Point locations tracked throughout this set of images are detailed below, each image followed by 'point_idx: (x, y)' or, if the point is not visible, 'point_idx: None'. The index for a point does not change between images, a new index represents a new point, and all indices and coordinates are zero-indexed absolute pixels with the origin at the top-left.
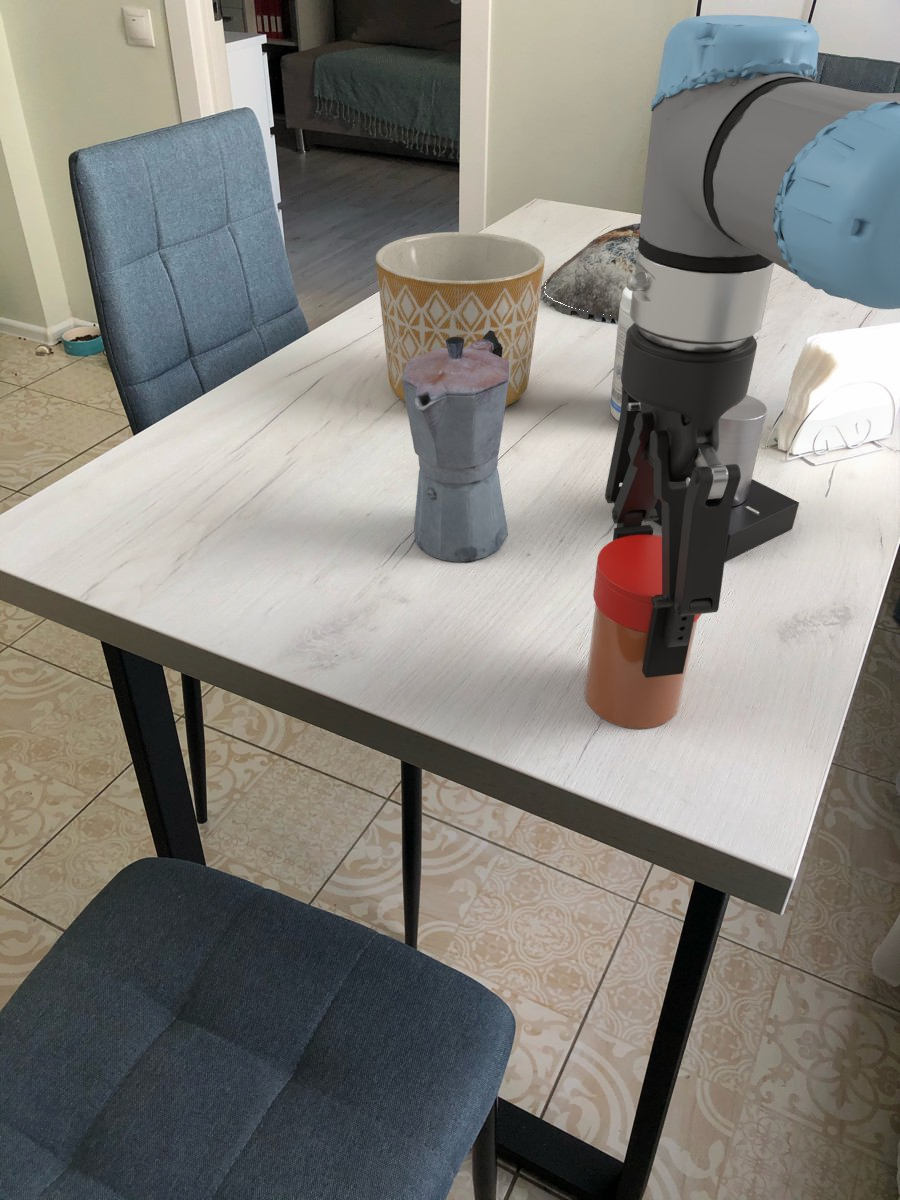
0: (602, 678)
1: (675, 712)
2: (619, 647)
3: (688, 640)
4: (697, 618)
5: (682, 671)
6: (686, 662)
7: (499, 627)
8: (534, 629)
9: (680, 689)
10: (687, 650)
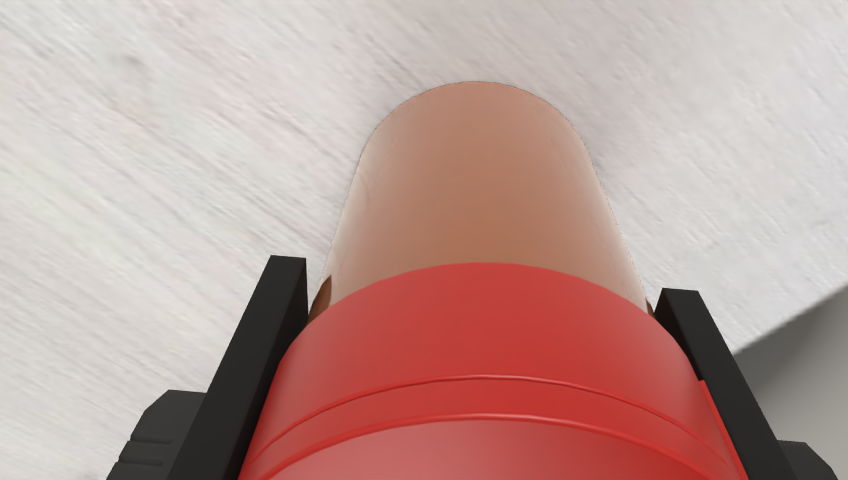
0: None
1: (577, 134)
2: None
3: (829, 473)
4: (682, 352)
5: (700, 299)
6: (607, 214)
7: (182, 364)
8: (192, 306)
9: (590, 167)
10: (733, 358)
